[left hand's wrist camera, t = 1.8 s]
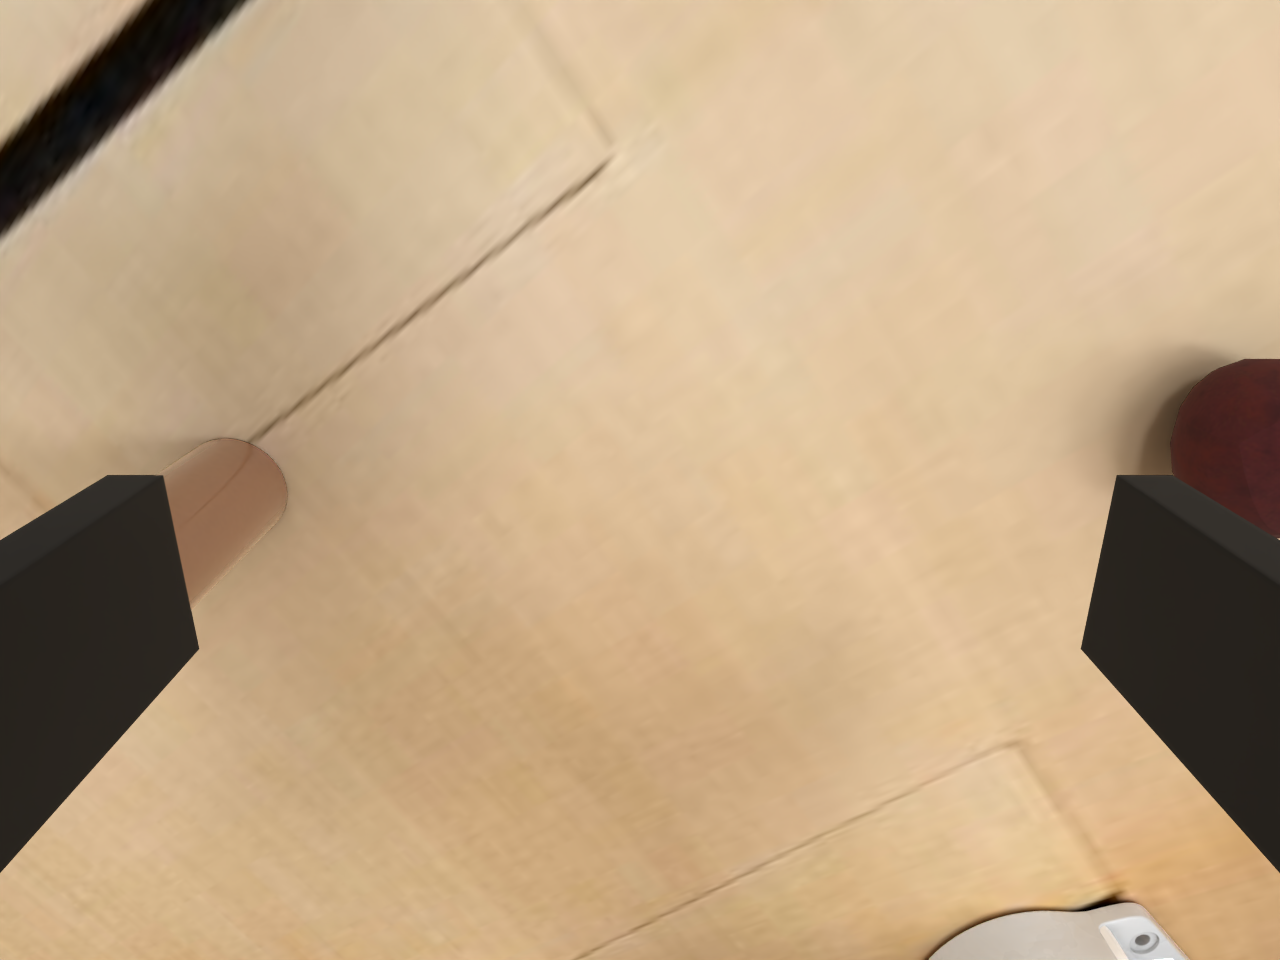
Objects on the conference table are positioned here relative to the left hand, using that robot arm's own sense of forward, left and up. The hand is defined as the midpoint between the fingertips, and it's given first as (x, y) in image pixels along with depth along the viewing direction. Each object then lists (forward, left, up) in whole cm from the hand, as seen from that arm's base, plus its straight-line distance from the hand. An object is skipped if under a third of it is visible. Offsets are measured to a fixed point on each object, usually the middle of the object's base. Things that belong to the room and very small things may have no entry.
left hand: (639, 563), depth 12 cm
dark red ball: (+6, +27, -28) cm, 39 cm away
